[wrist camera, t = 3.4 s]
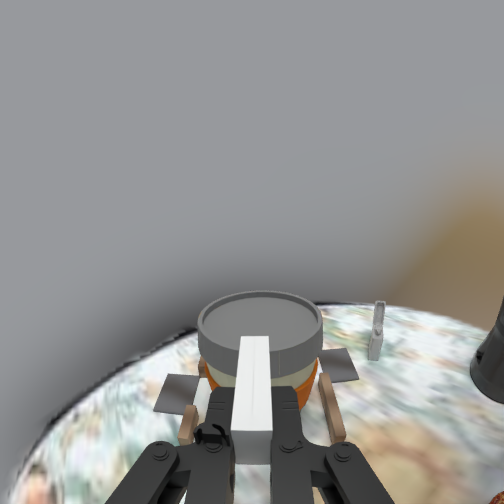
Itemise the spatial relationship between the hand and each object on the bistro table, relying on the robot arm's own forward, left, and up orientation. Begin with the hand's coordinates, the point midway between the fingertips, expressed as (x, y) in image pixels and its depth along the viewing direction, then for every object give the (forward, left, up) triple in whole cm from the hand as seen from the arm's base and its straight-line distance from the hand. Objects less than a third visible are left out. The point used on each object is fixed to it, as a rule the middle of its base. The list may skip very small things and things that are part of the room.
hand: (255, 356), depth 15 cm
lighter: (-23, -20, -19) cm, 36 cm away
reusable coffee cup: (-2, -11, -19) cm, 22 cm away
